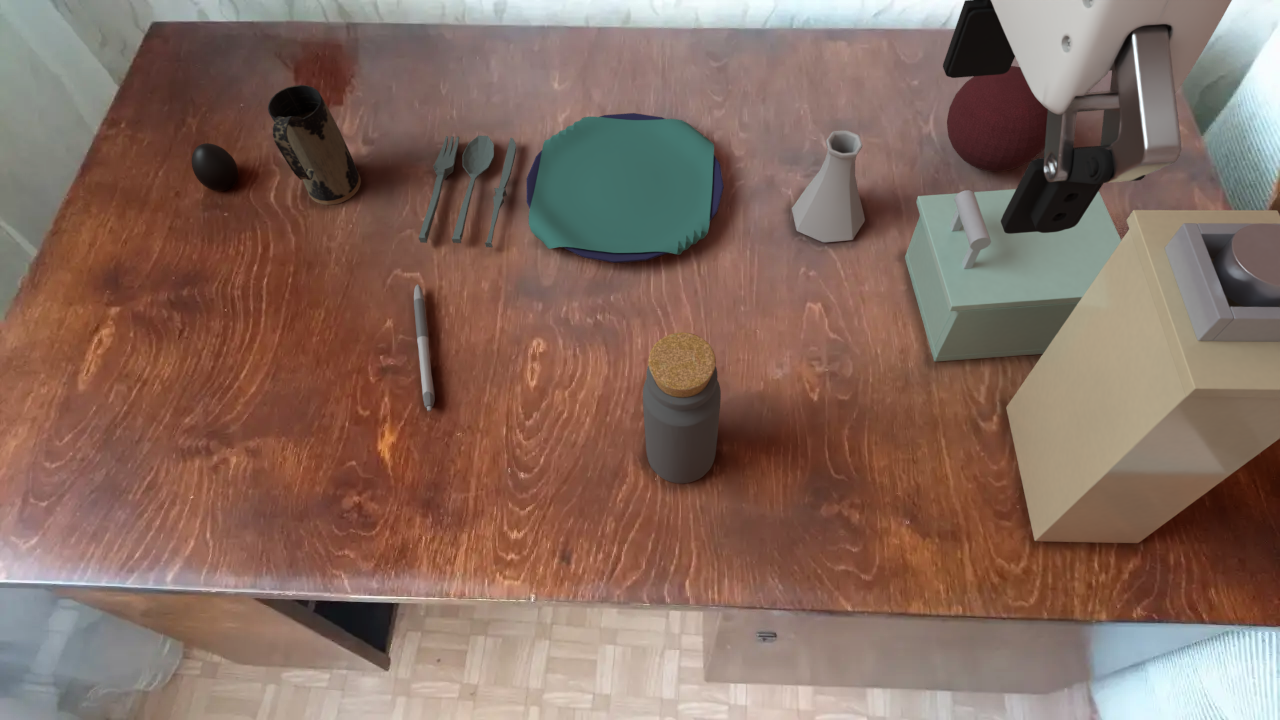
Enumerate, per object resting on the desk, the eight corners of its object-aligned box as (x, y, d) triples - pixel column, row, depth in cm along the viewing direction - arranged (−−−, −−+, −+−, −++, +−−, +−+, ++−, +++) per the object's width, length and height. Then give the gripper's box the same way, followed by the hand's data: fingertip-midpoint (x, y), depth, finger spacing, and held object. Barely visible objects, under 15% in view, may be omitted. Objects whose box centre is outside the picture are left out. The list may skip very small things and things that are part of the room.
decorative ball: (946, 112, 93) (973, 34, 84) (1042, 134, 90) (1080, 56, 82) (926, 177, 88) (953, 101, 79) (1027, 203, 86) (1066, 127, 77)
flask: (785, 238, 85) (798, 165, 76) (796, 184, 88) (809, 108, 80) (860, 250, 83) (881, 178, 75) (868, 195, 87) (889, 120, 78)
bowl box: (933, 362, 77) (958, 311, 70) (904, 257, 83) (924, 201, 76) (1099, 350, 77) (1140, 298, 70) (1057, 246, 83) (1091, 189, 76)
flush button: (1279, 248, 49) (1303, 222, 47) (1308, 311, 47) (1334, 287, 45) (1200, 247, 50) (1221, 222, 48) (1224, 311, 47) (1247, 287, 45)
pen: (426, 417, 76) (422, 409, 74) (414, 291, 83) (410, 282, 82) (438, 414, 76) (434, 407, 74) (425, 289, 83) (421, 280, 82)
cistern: (1103, 405, 74) (1301, 183, 51) (1143, 547, 67) (1391, 368, 44) (1001, 403, 74) (1150, 183, 51) (1031, 545, 68) (1217, 366, 44)
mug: (314, 164, 92) (269, 73, 82) (365, 164, 92) (326, 73, 81) (297, 221, 88) (247, 133, 78) (350, 221, 88) (307, 133, 77)
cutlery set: (718, 278, 82) (720, 263, 80) (411, 263, 84) (405, 248, 82) (726, 129, 92) (727, 113, 91) (452, 119, 95) (447, 103, 93)
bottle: (647, 420, 75) (641, 324, 62) (715, 422, 74) (723, 325, 61) (645, 483, 72) (638, 395, 59) (715, 485, 71) (724, 397, 58)
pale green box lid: (949, 311, 70) (967, 274, 66) (915, 201, 76) (930, 161, 72) (1140, 298, 70) (1171, 259, 66) (1092, 189, 76) (1116, 147, 72)
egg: (201, 198, 90) (177, 163, 86) (207, 169, 92) (185, 134, 88) (240, 194, 90) (218, 159, 86) (246, 165, 92) (225, 130, 88)
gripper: (1498, -117, 21) (1154, 290, 36) (1205, -408, 30) (1026, 16, 44) (1192, -95, 21) (974, 305, 36) (989, -393, 30) (881, 26, 44)
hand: (1003, 144), depth 40 cm, fingers open, 9 cm apart
